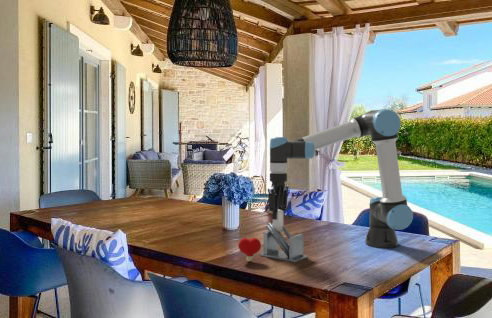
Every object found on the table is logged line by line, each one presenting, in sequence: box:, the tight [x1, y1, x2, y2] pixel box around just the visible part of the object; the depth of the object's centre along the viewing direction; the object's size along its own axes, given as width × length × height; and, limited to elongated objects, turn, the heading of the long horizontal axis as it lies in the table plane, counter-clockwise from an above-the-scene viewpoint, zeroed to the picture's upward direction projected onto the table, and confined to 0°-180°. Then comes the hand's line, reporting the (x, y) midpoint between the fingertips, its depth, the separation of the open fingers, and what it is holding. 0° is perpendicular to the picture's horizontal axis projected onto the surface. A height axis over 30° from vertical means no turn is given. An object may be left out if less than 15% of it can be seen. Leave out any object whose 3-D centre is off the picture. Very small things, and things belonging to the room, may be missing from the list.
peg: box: [274, 209, 283, 232], centre depth 213 cm, size 4×4×9 cm
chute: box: [259, 222, 308, 263], centre depth 212 cm, size 18×10×15 cm, turn 53°
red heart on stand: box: [238, 237, 262, 263], centre depth 203 cm, size 9×7×10 cm
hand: (278, 225), depth 213 cm, fingers closed on peg, 3 cm apart
